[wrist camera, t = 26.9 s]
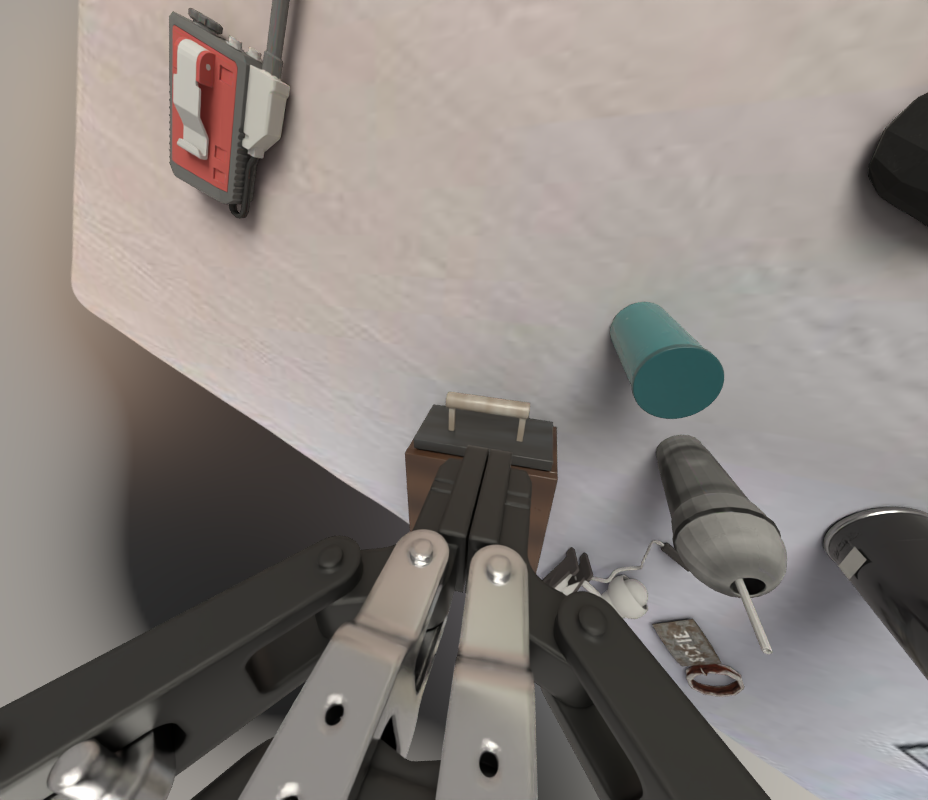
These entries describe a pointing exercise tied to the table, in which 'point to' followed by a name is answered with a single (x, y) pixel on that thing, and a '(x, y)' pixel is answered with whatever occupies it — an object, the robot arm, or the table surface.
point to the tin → (664, 362)
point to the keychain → (697, 656)
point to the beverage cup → (719, 527)
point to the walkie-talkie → (223, 105)
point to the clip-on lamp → (621, 590)
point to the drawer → (487, 430)
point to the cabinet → (543, 482)
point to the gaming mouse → (904, 161)
